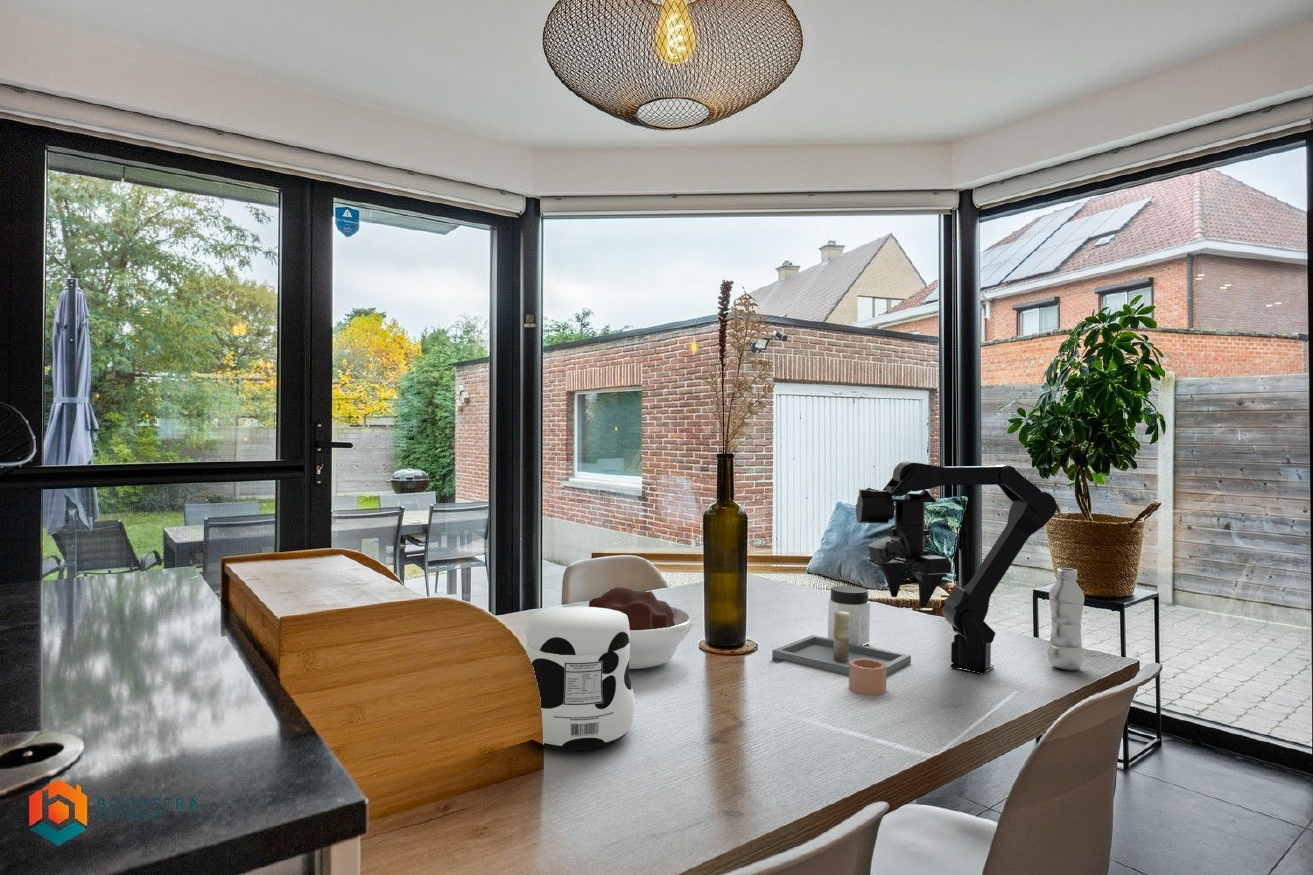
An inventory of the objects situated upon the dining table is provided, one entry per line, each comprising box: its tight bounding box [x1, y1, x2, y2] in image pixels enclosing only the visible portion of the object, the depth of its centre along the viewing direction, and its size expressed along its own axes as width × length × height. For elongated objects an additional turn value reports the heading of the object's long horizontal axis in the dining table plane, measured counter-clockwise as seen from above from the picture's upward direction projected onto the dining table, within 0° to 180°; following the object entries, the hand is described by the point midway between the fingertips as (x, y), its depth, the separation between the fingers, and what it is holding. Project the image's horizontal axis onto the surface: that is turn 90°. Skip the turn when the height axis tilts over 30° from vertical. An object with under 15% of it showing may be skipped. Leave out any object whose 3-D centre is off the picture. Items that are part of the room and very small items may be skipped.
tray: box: [771, 634, 912, 677], centre depth 157 cm, size 22×16×2 cm
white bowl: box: [584, 586, 693, 670], centre depth 155 cm, size 25×25×15 cm
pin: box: [833, 611, 849, 662], centre depth 157 cm, size 3×3×10 cm
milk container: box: [525, 606, 636, 751], centre depth 117 cm, size 17×17×18 cm
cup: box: [848, 658, 887, 696], centre depth 139 cm, size 6×6×5 cm
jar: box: [827, 585, 871, 645], centre depth 172 cm, size 9×8×12 cm
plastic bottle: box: [1047, 567, 1085, 671], centre depth 155 cm, size 6×7×20 cm
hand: (908, 601), depth 155 cm, fingers open, 9 cm apart
